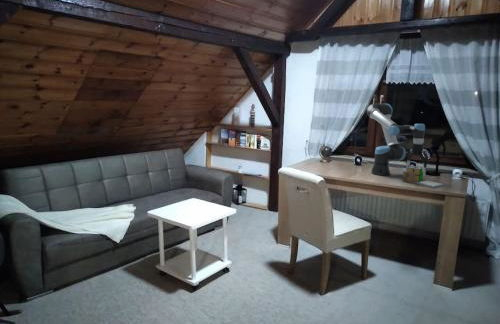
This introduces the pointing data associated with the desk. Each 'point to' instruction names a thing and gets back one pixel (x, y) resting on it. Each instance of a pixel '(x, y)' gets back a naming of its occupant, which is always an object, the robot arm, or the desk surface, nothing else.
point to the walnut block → (408, 177)
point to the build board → (430, 184)
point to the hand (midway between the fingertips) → (415, 169)
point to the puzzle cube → (416, 172)
